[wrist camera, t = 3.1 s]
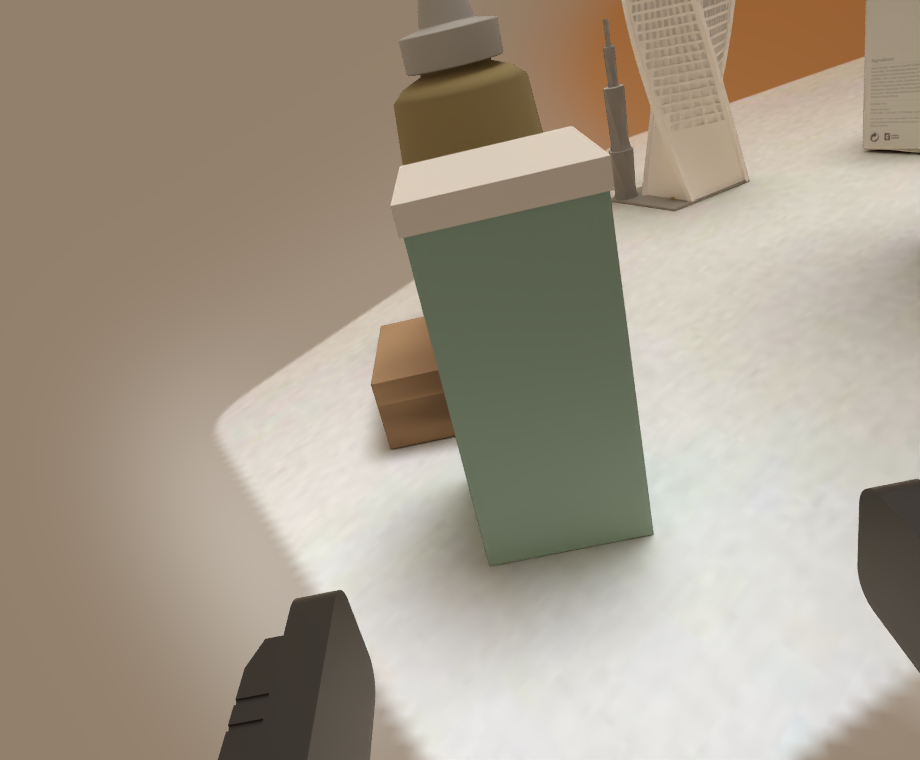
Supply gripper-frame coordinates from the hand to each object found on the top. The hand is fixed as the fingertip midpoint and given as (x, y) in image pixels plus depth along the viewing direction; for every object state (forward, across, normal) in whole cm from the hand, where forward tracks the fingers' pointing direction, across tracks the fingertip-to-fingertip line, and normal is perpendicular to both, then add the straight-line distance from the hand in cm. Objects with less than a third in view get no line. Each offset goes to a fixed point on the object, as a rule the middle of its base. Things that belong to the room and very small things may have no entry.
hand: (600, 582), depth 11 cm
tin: (+11, 0, +7) cm, 13 cm away
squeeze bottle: (+28, 0, +7) cm, 29 cm away
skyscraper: (+44, -15, +7) cm, 47 cm away
